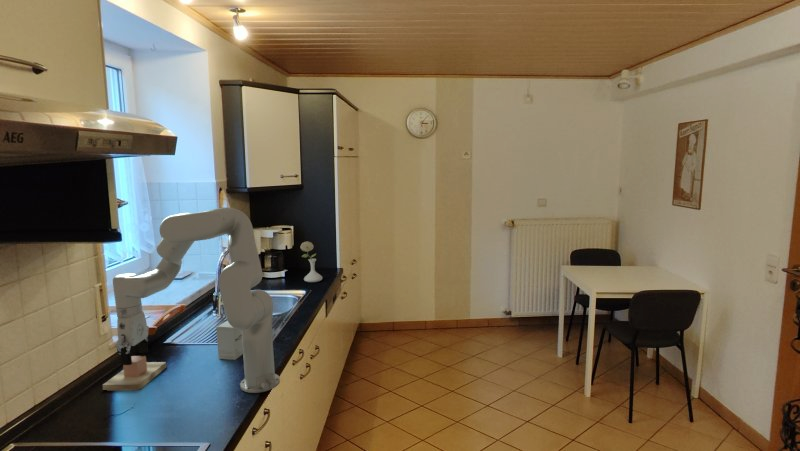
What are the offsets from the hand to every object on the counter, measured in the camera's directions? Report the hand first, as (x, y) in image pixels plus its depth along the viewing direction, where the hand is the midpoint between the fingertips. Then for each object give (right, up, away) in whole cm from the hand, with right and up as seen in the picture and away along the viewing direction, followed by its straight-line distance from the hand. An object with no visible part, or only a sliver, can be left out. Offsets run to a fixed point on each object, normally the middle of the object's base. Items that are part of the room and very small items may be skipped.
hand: (135, 358), depth 160 cm
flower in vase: (+36, +11, +128) cm, 134 cm away
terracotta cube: (0, -5, +1) cm, 5 cm away
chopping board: (0, -7, +1) cm, 7 cm away
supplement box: (+27, -4, +18) cm, 33 cm away
